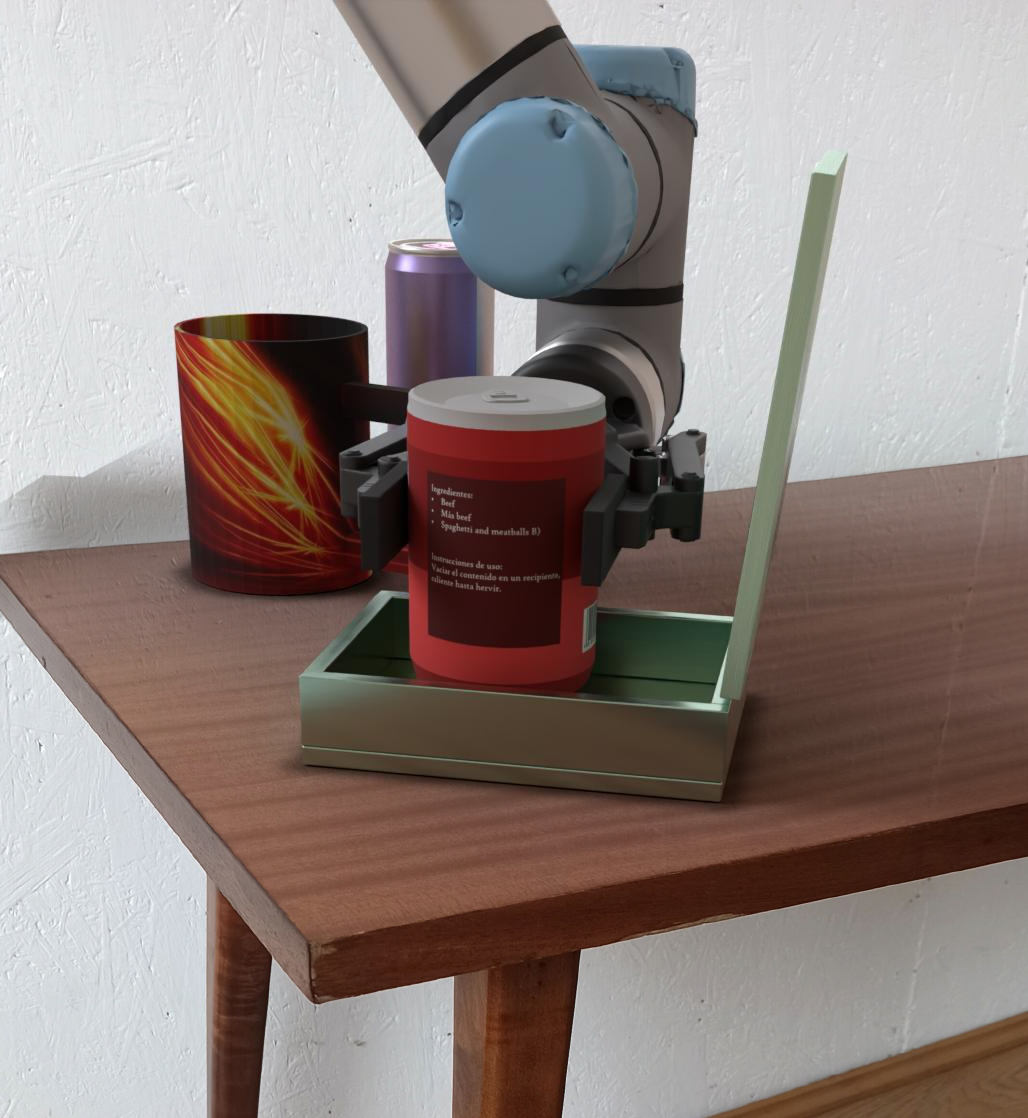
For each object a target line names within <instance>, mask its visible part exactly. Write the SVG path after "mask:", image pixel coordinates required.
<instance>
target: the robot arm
mask: <svg viewBox="0 0 1028 1118" xmlns="http://www.w3.org/2000/svg"><path fill="white" fill-rule="evenodd" d="M331 1H332V2H333V4H334V6H335V7H336V8H337V10H338V12H339V14H340V15H341V17H342V19H343V20H344V22H345V23H346V25H347V27H348V28H349V30H350V31H351V33H352V34H353V36H354V38H355V39H356V41H357V42H358V44H359V46H360V48H361V49H362V51H363V52H364V54H365V56H366V57H367V59H368V60H369V62H370V63H371V65H372V67H373V69H374V70H375V72H376V73H377V75H378V76H379V78H380V80H381V82H382V83H383V85H384V86H385V88H386V89H387V91H388V93H389V94H390V96H391V98H392V100H393V101H394V102H395V104H396V105H397V107H398V109H399V110H400V112H401V114H402V115H403V117H404V119H405V120H406V121H407V124H408V125H409V126H410V128H411V130H412V131H413V133H414V134H415V136H416V137H417V140H418V141H419V143H420V144H421V146H422V147H423V149H424V150H425V152H426V154H427V156H428V157H429V159H430V162H431V163H432V164H433V166H434V168H435V170H436V172H437V173H438V175H439V176H440V178H441V180H442V181H443V183H444V185H445V186H444V206H445V207H444V208H445V209H444V210H445V217H446V222H447V226H448V229H449V233H450V237H451V239H452V240H453V243H454V245H455V247H456V249H457V251H458V253H459V254H460V256H461V258H462V259H463V261H464V262H465V264H466V265H467V266H468V267H469V269H470V270H471V271H472V272H473V273H474V274H475V275H476V276H477V277H478V278H479V279H480V280H481V281H483V282H484V283H486V284H487V285H488V286H490V287H491V288H493V289H495V291H497V292H499V293H502V294H504V295H507V296H510V297H513V298H518V299H523V300H536V318H535V319H536V323H535V352H534V353H533V354H532V355H531V356H530V357H528V359H527V360H526V361H525V362H524V363H523V364H522V365H521V366H519V368H517V369H516V370H515V371H513V373H512V374H511V375H510V376H520V377H534V378H545V379H554V380H560V381H567V382H572V383H576V384H581V385H584V386H587V387H590V388H593V389H595V390H597V391H599V392H600V393H602V394H603V395H604V396H605V409H606V428H605V461H604V481H603V483H602V484H601V486H600V487H599V489H598V490H597V492H596V493H595V495H594V496H593V497H592V499H591V500H590V502H589V503H588V505H587V506H586V508H585V509H584V511H583V536H582V561H581V586H595V587H598V588H600V587H602V585H603V584H604V581H605V580H606V578H607V576H608V574H609V572H610V571H611V569H612V567H613V566H614V563H615V562H616V560H617V557H618V556H619V555H620V552H621V551H622V549H632V550H640V549H643V548H645V547H646V546H647V544H648V542H651V541H653V540H655V539H656V531H658V530H666V529H667V530H668V529H669V533H670V538H672V539H673V540H676V541H679V542H681V543H692V542H696V541H698V540H700V539H701V537H702V536H701V535H702V523H703V510H704V495H705V482H706V475H705V466H706V453H707V452H706V451H707V441H708V438H707V437H708V433H707V432H704V431H700V429H698V428H689V429H687V430H684V431H680V432H678V433H676V434H675V435H674V434H669V431H670V429H671V428H672V427H673V426H674V425H675V418H676V417H677V416H678V415H679V413H680V412H681V409H682V404H683V400H684V399H683V398H684V392H685V381H686V363H685V361H684V357H683V352H682V348H681V344H682V343H681V342H682V330H683V329H682V327H683V315H684V314H683V313H684V312H683V311H684V289H685V285H684V276H685V264H686V250H687V248H686V247H687V239H688V238H687V237H688V227H689V226H688V224H689V212H690V211H689V210H690V198H691V186H692V174H693V161H694V149H695V138H698V135H699V124H698V120H697V118H696V102H697V101H696V98H697V97H696V96H697V68H696V64H695V61H694V59H693V57H692V56H691V55H690V53H688V52H687V50H685V49H683V48H680V47H676V46H657V45H655V46H654V45H628V44H627V45H625V44H624V45H623V44H622V45H621V44H588V43H586V44H585V43H583V44H582V43H572V42H571V40H570V39H569V37H568V35H567V34H566V32H565V31H564V29H563V28H562V26H563V25H562V22H561V21H560V19H559V18H558V16H557V14H556V12H555V11H554V9H553V8H552V5H551V4H550V2H549V0H331ZM660 443H661V445H659V444H660ZM339 460H340V493H341V514H342V515H343V516H344V517H347V518H351V519H358V527H359V529H360V530H361V570H372V572H373V571H374V572H382V571H383V570H382V569H383V568H384V567H385V566H386V565H387V564H388V563H389V562H390V561H391V560H392V559H393V558H394V557H395V556H396V555H397V554H398V553H399V552H400V551H401V550H402V549H403V548H404V547H405V546H406V545H407V544H408V490H407V418H406V422H405V424H403V425H401V426H399V427H396V428H394V429H392V430H390V431H388V432H387V431H385V432H383V433H381V434H379V435H376V436H374V437H372V438H370V440H368V441H365V442H363V443H361V444H359V445H356V446H354V447H352V448H350V449H348V450H345V451H343V452H341V453H340V454H339Z"/></svg>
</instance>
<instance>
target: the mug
mask: <svg viewBox="0 0 1028 1118" xmlns="http://www.w3.org/2000/svg"><path fill="white" fill-rule="evenodd" d="M173 331H174V344H175V347H174V348H175V359H176V372H177V375H176V376H177V387H178V388H177V389H178V401H179V412H180V414H179V415H180V416H179V417H180V428H181V430H180V431H181V442H182V456H183V471H184V482H185V483H184V485H185V495H186V497H185V498H186V511H187V523H188V526H187V527H188V537H189V553H190V566H191V567H190V568H191V575H192V577H194V579H196V581H198V582H200V583H202V584H204V585H206V586H209V587H212V588H216V589H220V590H225V591H229V592H235V593H243V594H254V595H270V596H271V595H276V596H285V595H306V594H307V595H309V594H318V593H326V592H332V591H336V590H341V589H346V588H349V587H351V586H355V585H358V584H360V583H362V582H364V581H366V580H368V579H369V578H370V577H371V576H372V574H373V571H372V570H361V530H360V529H359V527H358V519H351V518H347V517H344V516H343V515H342V514H341V493H340V460H339V454H340V453H341V452H343V451H345V450H348V449H350V448H352V447H354V446H356V445H359V444H361V443H363V442H365V441H368V440H370V439H371V423H372V422H373V423H379V424H386V425H387V424H392V425H399V426H401V425H403V424H405V422H406V418H407V406H408V402H409V395H408V393H409V392H410V390H411V389H409V388H402V387H394V386H387V384H380V383H379V384H378V383H370V351H369V348H370V347H369V346H370V345H369V327H368V326H367V324H365V323H362V322H360V321H357V320H353V319H347V318H341V317H336V316H328V315H327V316H326V315H319V314H318V315H317V314H303V313H278V312H277V313H273V312H271V313H268V312H267V313H266V312H265V313H263V312H262V313H261V312H260V313H259V312H258V313H253V312H252V313H233V314H218V315H208V316H207V315H206V316H201V317H193V318H189V319H185V320H182V321H179V322H177V323H175V324H174V325H173ZM381 571H383V572H389V573H396V574H401V575H405V576H409V559H408V544H407V545H406V546H405V547H404V548H403V549H402V550H401V551H400V552H399V553H398V554H397V555H396V556H395V557H394V558H393V559H392V560H391V561H390V562H389V563H388V564H387V565H386V566H385V567H384V568H383V569H382V570H381Z"/></svg>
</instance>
